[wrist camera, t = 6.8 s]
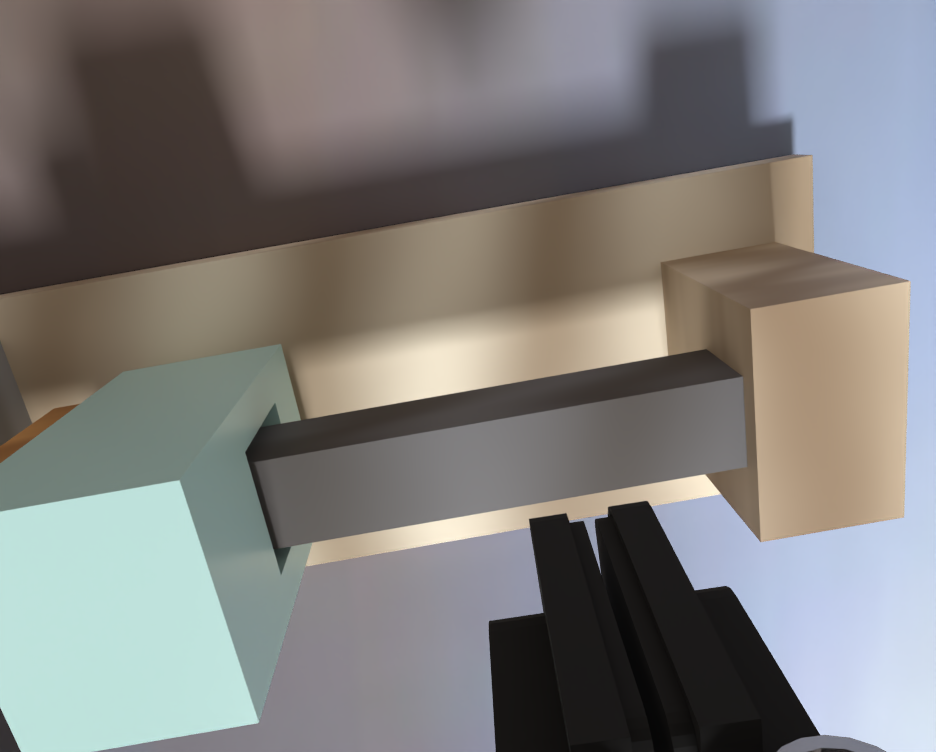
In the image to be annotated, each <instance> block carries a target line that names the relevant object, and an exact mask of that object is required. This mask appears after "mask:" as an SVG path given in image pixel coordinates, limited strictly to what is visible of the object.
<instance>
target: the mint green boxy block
mask: <svg viewBox="0 0 936 752" xmlns="http://www.w3.org/2000/svg"><path fill="white" fill-rule="evenodd" d="M299 420H301V419H300V415H299V411H298V407H297V403H296V400H295V396H294V392H293V388H292V384H291V380H290V377H289V373H288V369H287V365H286V361H285V357H284V354H283V350H282V346H281V344H277V345H272V346H266V347H260V348H255V349H249V350H243V351H238V352H232V353H226V354H221V355H215V356H209V357H204V358H198V359H192V360H187V361H181V362H175V363H170V364H164V365H158V366H152V367H147V368H141V369H135V370H130V371H124V372H122V373H121V374H119V375H118V376H117V377H115V378H114V379H113V380H111V381H110V382H109V383H107V384H106V385H105V386H103V387H102V388H101V389H99V390H98V391H97V392H95V393H94V394H93V395H91V396H90V397H89V398H87V399H86V400H85V401H83V402H82V403H81V404H79V405H78V406H76V407H75V408H74V409H72V410H71V411H70V412H68V413H67V414H66V415H64V416H63V417H62V418H60V419H59V420H58V421H56V422H55V423H54V424H52V425H51V426H50V427H48V428H47V429H46V430H44V431H43V432H42V433H40V434H39V435H38V436H36V437H35V438H34V439H32V440H31V441H30V442H28V443H27V444H26V445H24V446H23V447H22V448H20V449H19V450H17V451H16V452H15V453H13V454H12V455H11V456H9V457H8V458H7V459H5V460H4V461H3V462H1V463H0V708H1V710H2V712H3V714H4V717H5V719H6V721H7V723H8V725H9V727H10V729H11V731H12V734H13V736H14V738H15V740H16V742H17V744H18V746H19V749H20V751H21V752H94V751H99V750H105V749H111V748H117V747H122V746H128V745H134V744H140V743H146V742H151V741H157V740H163V739H169V738H175V737H180V736H186V735H192V734H198V733H203V732H209V731H215V730H221V729H227V728H232V727H238V726H244V725H250V724H255V723H259V721H260V718H261V715H262V711H263V708H264V704H265V701H266V698H267V694H268V691H269V688H270V684H271V681H272V677H273V674H274V671H275V667H276V664H277V661H278V657H279V654H280V650H281V647H282V644H283V640H284V637H285V634H286V630H287V627H288V623H289V620H290V617H291V613H292V610H293V607H294V603H295V600H296V596H297V593H298V590H299V586H300V583H301V580H302V576H303V573H304V569H305V566H306V563H307V559H308V556H309V553H310V549H311V546H312V543H308V544H302V545H297V546H291V547H285V548H279V549H274V550H273V546H272V543H271V539H270V536H269V533H268V529H267V526H266V522H265V519H264V515H263V512H262V509H261V505H260V502H259V498H258V495H257V491H256V488H255V485H254V481H253V478H252V474H251V471H250V467H249V464H248V461H247V457H246V454H245V451H246V450H247V448H248V446H249V445H250V443H251V441H252V440H253V438H254V436H255V435H256V433H257V431H258V430H259V428H260V427H265V426H271V425H276V424H282V423H288V422H293V421H299Z"/></svg>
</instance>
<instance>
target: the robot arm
mask: <svg viewBox="0 0 936 752" xmlns="http://www.w3.org/2000/svg"><path fill="white" fill-rule="evenodd" d="M529 524H530V530H531V537H532V543H533V549H534V555H535V562H536V568H537V574H538V580H539V587H540V593H541V599H542V605H543V612H544V613H541V614H534V615H527V616H520V617H514V618H507V619H500V620H493V621H489V642H490V659H491V676H492V693H493V710H494V727H495V744H496V752H886V751H884V750H882V749H880V748H879V747H877V746H874V745H871V744H868V743H865V742H862V741H858V740H855V739H852V738H848V737H838V736H829V735H820V734H819V732H818V731H817V729H816V727H815V726H814V724H813V722H812V721H811V719H810V717H809V716H808V714H807V712H806V711H805V709H804V708H803V706H802V704H801V703H800V701H799V699H798V698H797V696H796V694H795V693H794V691H793V689H792V688H791V686H790V684H789V683H788V681H787V679H786V678H785V676H784V674H783V673H782V671H781V669H780V668H779V666H778V664H777V663H776V661H775V659H774V658H773V656H772V655H771V653H770V651H769V650H768V648H767V646H766V645H765V643H764V641H763V640H762V638H761V636H760V635H759V633H758V631H757V630H756V628H755V626H754V625H753V623H752V621H751V620H750V618H749V616H748V615H747V613H746V611H745V610H744V608H743V606H742V605H741V603H740V602H739V600H738V598H737V597H736V595H735V594H734V592H733V591H732V590H731V588H729V587H727V586H723V587H716V588H709V589H702V590H696V591H695V590H694V588H693V586H692V584H691V583H690V581H689V579H688V577H687V575H686V573H685V571H684V569H683V567H682V565H681V563H680V561H679V559H678V557H677V556H676V554H675V552H674V550H673V548H672V546H671V544H670V542H669V540H668V538H667V536H666V534H665V532H664V530H663V529H662V527H661V525H660V523H659V521H658V519H657V517H656V515H655V513H654V511H653V509H652V507H651V505H650V504H649V502H648V501H641V502H635V503H628V504H622V505H615V506H609V507H608V517H606V518H599V519H595V528H596V537H597V544H598V552H599V560H600V568H601V573H600V570H599V567H598V564H597V561H596V557H595V554H594V551H593V548H592V545H591V542H590V539H589V536H588V533H587V530H586V527H585V524H584V521H579V522H573V523H569V519H568V516H567V513H563V514H557V515H551V516H544V517H538V518H531V519H529Z"/></svg>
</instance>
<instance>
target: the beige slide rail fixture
mask: <svg viewBox="0 0 936 752" xmlns="http://www.w3.org/2000/svg"><path fill="white" fill-rule="evenodd" d="M909 316H910V281H908V280H905V279H901V278H898V277H894V276H891V275H887V274H884V273H880V272H877V271H874V270H870V269H867V268H863V267H860V266H856V265H853V264H849V263H846V262H843V261H839V260H836V259H832V258H829V257H825V256H822V255H818V254H815V253H814V228H813V164H812V155H788V156H782V157H776V158H771V159H765V160H759V161H754V162H748V163H742V164H737V165H731V166H725V167H720V168H714V169H708V170H703V171H697V172H691V173H686V174H680V175H674V176H669V177H663V178H658V179H652V180H646V181H641V182H635V183H629V184H624V185H618V186H612V187H607V188H601V189H595V190H590V191H584V192H578V193H573V194H567V195H561V196H556V197H550V198H544V199H539V200H533V201H527V202H522V203H516V204H510V205H505V206H499V207H494V208H488V209H482V210H477V211H471V212H465V213H460V214H454V215H448V216H443V217H437V218H431V219H426V220H420V221H414V222H409V223H403V224H397V225H392V226H386V227H380V228H375V229H369V230H363V231H358V232H352V233H346V234H341V235H335V236H330V237H324V238H318V239H313V240H307V241H301V242H296V243H290V244H284V245H279V246H273V247H267V248H262V249H256V250H250V251H245V252H239V253H233V254H228V255H222V256H216V257H211V258H205V259H199V260H194V261H188V262H182V263H177V264H171V265H166V266H160V267H154V268H149V269H143V270H137V271H132V272H126V273H120V274H115V275H109V276H103V277H98V278H92V279H86V280H81V281H75V282H69V283H64V284H58V285H52V286H47V287H41V288H35V289H30V290H24V291H19V292H13V293H7V294H2V295H0V463H1V462H3V461H4V460H5V459H7V458H8V457H9V456H11V455H12V454H13V453H15V452H16V451H17V450H19V449H20V448H22V447H23V446H24V445H26V444H27V443H28V442H30V441H31V440H32V439H34V438H35V437H36V436H38V435H39V434H40V433H42V432H43V431H44V430H46V429H47V428H48V427H50V426H51V425H52V424H54V423H55V422H56V421H58V420H59V419H60V418H62V417H63V416H64V415H66V414H67V413H68V412H70V411H71V410H72V409H74V408H75V407H76V406H78V405H79V404H81V403H82V402H83V401H85V400H86V399H87V398H89V397H90V396H91V395H93V394H94V393H95V392H97V391H98V390H99V389H101V388H102V387H103V386H105V385H106V384H107V383H109V382H110V381H111V380H113V379H114V378H115V377H117V376H118V375H119V374H121V373H122V372H124V371H130V370H135V369H141V368H147V367H152V366H158V365H164V364H170V363H175V362H181V361H187V360H192V359H198V358H204V357H209V356H215V355H221V354H226V353H232V352H238V351H243V350H249V349H255V348H260V347H266V346H272V345H277V344H281V346H282V350H283V354H284V357H285V361H286V365H287V369H288V373H289V377H290V380H291V384H292V388H293V392H294V396H295V400H296V403H297V407H298V411H299V415H300V419H301V420H299V421H293V422H288V423H282V424H276V425H271V426H265V427H260V428H259V430H258V431H257V433H256V435H255V436H254V438H253V440H252V441H251V443H250V445H249V446H248V448H247V450H246V451H245V454H246V457H247V461H248V464H249V467H250V471H251V474H252V478H253V481H254V485H255V488H256V491H257V495H258V498H259V502H260V505H261V509H262V512H263V515H264V519H265V522H266V526H267V529H268V533H269V536H270V539H271V543H272V546H273V550H274V549H279V548H285V547H291V546H297V545H302V544H308V543H312V546H311V549H310V553H309V556H308V559H307V563H306V566H311V565H317V564H322V563H328V562H334V561H340V560H345V559H351V558H357V557H363V556H368V555H374V554H380V553H386V552H391V551H397V550H403V549H409V548H414V547H420V546H426V545H432V544H437V543H443V542H449V541H455V540H460V539H466V538H472V537H477V536H483V535H489V534H495V533H500V532H506V531H512V530H518V529H523V528H529V527H530V524H529V519H531V518H538V517H544V516H551V515H557V514H563V513H567V516H568V519H569V520H575V519H581V518H587V517H592V516H598V515H604V514H608V507H609V506H615V505H622V504H628V503H635V502H641V501H648V502H649V504H650V505H651V506H655V505H661V504H667V503H673V502H678V501H684V500H690V499H696V498H701V497H707V496H713V495H719V494H722V496H723V497H724V498H725V499H726V500H727V502H728V503H729V504H730V505H731V507H732V508H733V509H734V510H735V511H736V513H737V514H738V515H739V516H740V517H741V519H742V520H743V521H744V522H745V524H746V525H747V526H748V527H749V528H750V530H751V531H752V532H753V533H754V534H755V536H756V537H757V538H758V539H759V541H760V542H764V541H770V540H776V539H782V538H787V537H793V536H799V535H805V534H810V533H816V532H822V531H828V530H833V529H839V528H845V527H851V526H856V525H862V524H868V523H874V522H879V521H885V520H891V519H897V518H902V517H904V499H905V462H906V426H907V389H908V353H909Z"/></svg>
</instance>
